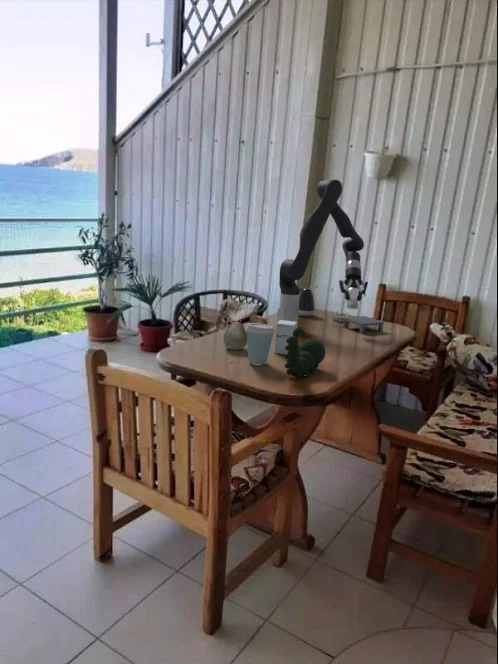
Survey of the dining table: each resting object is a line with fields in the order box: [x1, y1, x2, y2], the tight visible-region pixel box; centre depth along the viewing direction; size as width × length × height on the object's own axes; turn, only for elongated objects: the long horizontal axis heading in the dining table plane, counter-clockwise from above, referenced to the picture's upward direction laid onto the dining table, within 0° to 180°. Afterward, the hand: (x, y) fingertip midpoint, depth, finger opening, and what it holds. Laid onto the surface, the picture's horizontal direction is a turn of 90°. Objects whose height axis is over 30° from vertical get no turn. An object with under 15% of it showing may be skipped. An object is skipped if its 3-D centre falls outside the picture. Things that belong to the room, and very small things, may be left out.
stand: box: [343, 315, 385, 335], centre depth 253 cm, size 14×14×5 cm
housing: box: [345, 287, 359, 310], centre depth 240 cm, size 6×6×10 cm
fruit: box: [223, 319, 248, 351], centre depth 205 cm, size 10×9×12 cm
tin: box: [248, 314, 269, 325], centre depth 232 cm, size 15×3×8 cm, turn 25°
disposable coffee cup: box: [245, 322, 275, 364], centre depth 187 cm, size 11×11×15 cm
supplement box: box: [273, 320, 298, 355], centre depth 204 cm, size 7×7×13 cm
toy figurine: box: [284, 326, 326, 378], centre depth 179 cm, size 10×19×26 cm
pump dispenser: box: [298, 287, 316, 317], centre depth 278 cm, size 10×10×15 cm
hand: (353, 299), depth 238 cm, fingers closed on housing, 5 cm apart
